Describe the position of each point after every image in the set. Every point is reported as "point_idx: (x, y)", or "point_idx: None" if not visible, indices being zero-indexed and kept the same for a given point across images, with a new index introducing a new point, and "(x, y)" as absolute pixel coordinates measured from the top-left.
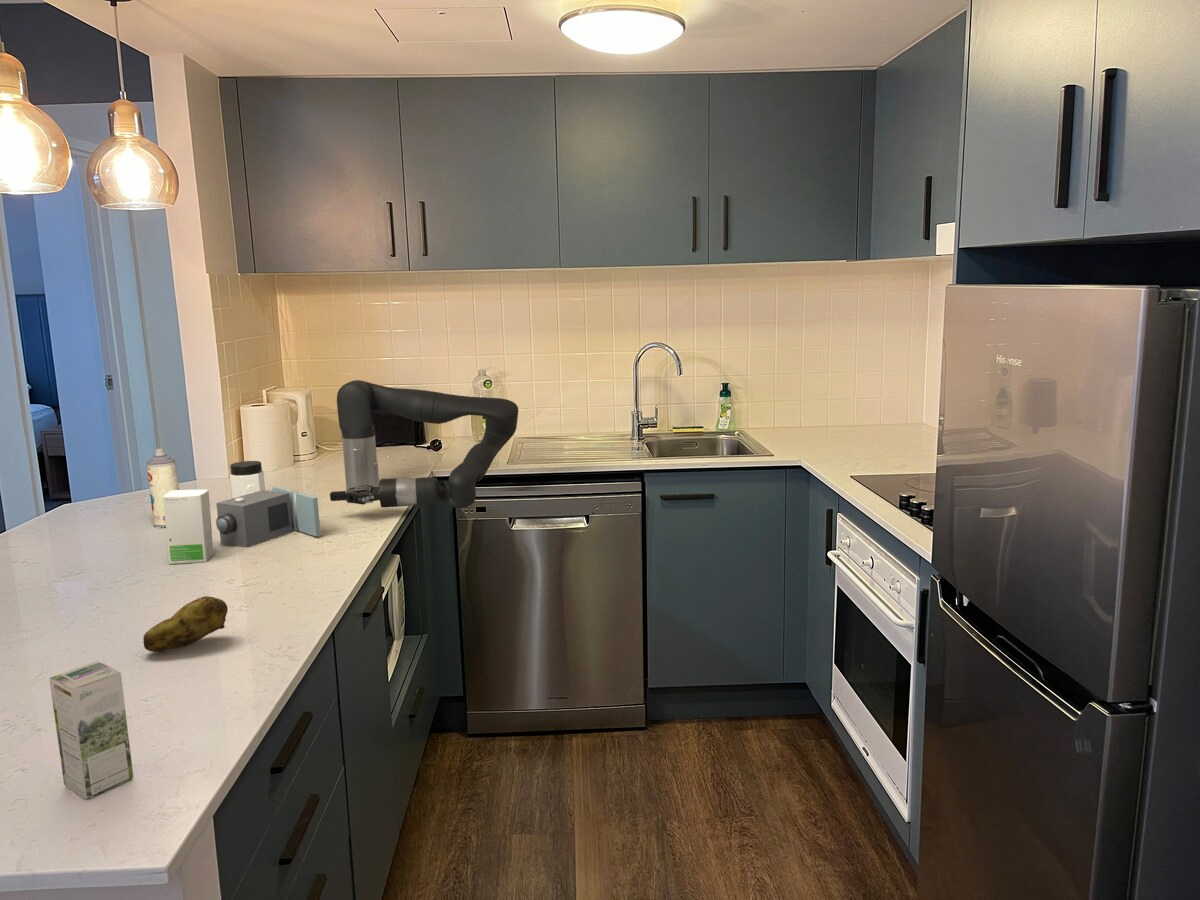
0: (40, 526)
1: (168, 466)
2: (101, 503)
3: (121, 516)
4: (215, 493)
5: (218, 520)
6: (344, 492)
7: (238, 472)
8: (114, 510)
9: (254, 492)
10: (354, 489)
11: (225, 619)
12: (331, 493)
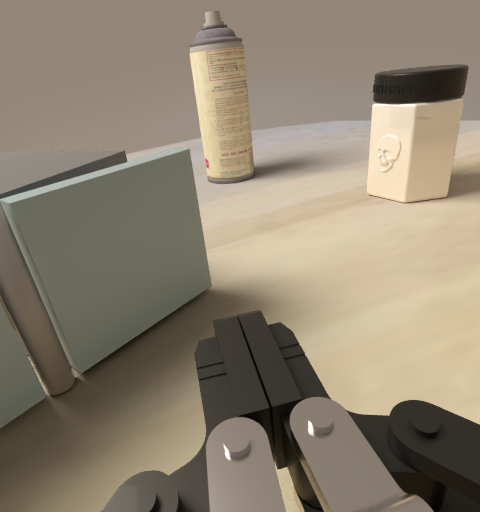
0: None
1: (200, 52)
2: (342, 125)
3: (281, 145)
4: (460, 145)
5: None
6: (239, 418)
7: (374, 92)
8: (311, 136)
9: (92, 151)
10: (370, 505)
11: None
12: (215, 327)
